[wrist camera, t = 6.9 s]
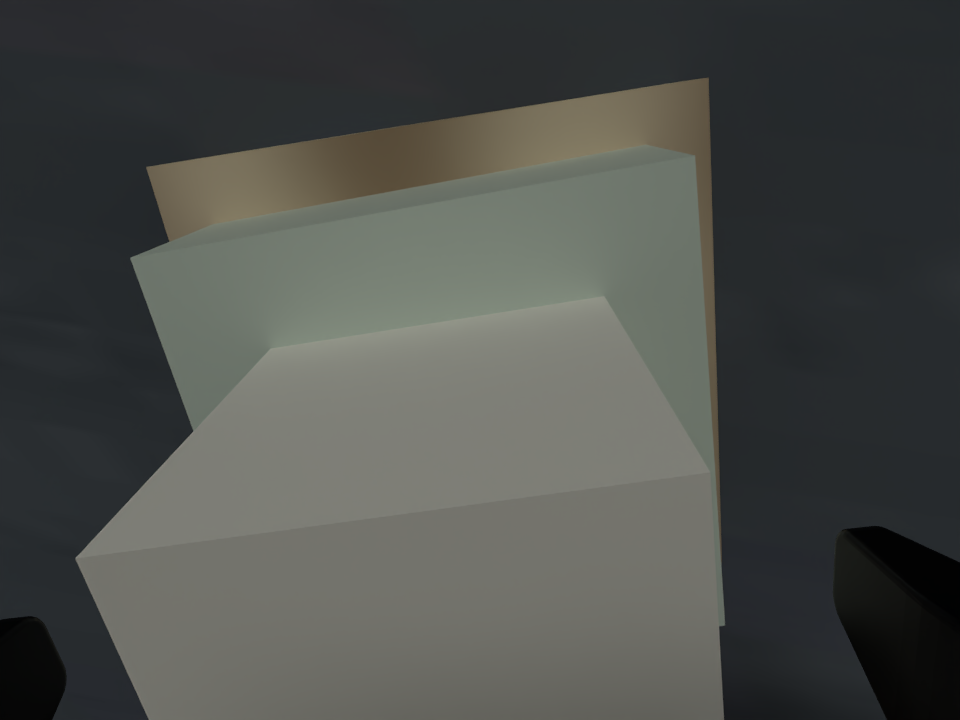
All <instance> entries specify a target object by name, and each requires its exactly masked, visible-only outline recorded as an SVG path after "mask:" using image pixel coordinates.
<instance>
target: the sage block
mask: <svg viewBox="0 0 960 720" xmlns="http://www.w3.org/2000/svg"><path fill="white" fill-rule="evenodd" d="M130 259H131V261H132V264H133V267H134V270H135V272H136V275H137V278H138V281H139V283H140V286H141V289H142V291H143V294H144V297H145V300H146V302H147V305H148V308H149V311H150V313H151V316H152V319H153V322H154V324H155V327H156V330H157V332H158V335H159V338H160V341H161V343H162V346H163V349H164V352H165V354H166V357H167V360H168V363H169V365H170V368H171V371H172V373H173V376H174V379H175V382H176V384H177V387H178V390H179V393H180V395H181V398H182V401H183V404H184V406H185V409H186V412H187V414H188V417H189V420H190V423H191V425H192V428H193V431H194V430H195V429H196V428H197V427H198V426H199V425H200V424H201V423H202V422H203V421H204V420H205V419H206V417H207V416H208V415H209V414H210V413H211V412H212V411H213V410H214V409H215V408H216V407H217V406H218V405H219V404H220V402H221V401H222V400H223V399H224V398H225V397H226V396H227V395H228V394H229V393H230V392H231V391H232V390H233V388H234V387H235V386H236V385H237V384H238V383H239V382H240V381H241V380H242V379H243V378H244V377H245V376H246V375H247V373H248V372H249V371H250V370H251V369H252V368H253V367H254V366H255V365H256V364H257V363H258V362H259V361H260V359H261V358H262V357H263V356H264V355H265V354H266V353H267V352H268V351H269V350H270V349H272V348H278V347H284V346H291V345H297V344H304V343H310V342H316V341H323V340H329V339H335V338H342V337H348V336H354V335H361V334H367V333H373V332H380V331H386V330H392V329H399V328H405V327H411V326H418V325H424V324H431V323H437V322H443V321H450V320H456V319H462V318H469V317H475V316H481V315H488V314H494V313H500V312H507V311H513V310H519V309H526V308H532V307H538V306H545V305H551V304H558V303H564V302H570V301H577V300H583V299H589V298H596V297H602V296H605V298H606V300H607V301H608V303H609V305H610V306H611V308H612V310H613V311H614V313H615V315H616V316H617V318H618V320H619V321H620V323H621V325H622V326H623V328H624V330H625V331H626V333H627V335H628V336H629V338H630V340H631V341H632V343H633V345H634V346H635V348H636V350H637V351H638V353H639V354H640V356H641V358H642V359H643V361H644V363H645V364H646V366H647V368H648V369H649V371H650V373H651V374H652V376H653V378H654V379H655V381H656V383H657V384H658V386H659V388H660V389H661V391H662V393H663V394H664V396H665V398H666V399H667V401H668V403H669V404H670V406H671V408H672V409H673V411H674V413H675V414H676V416H677V418H678V419H679V421H680V423H681V424H682V426H683V428H684V429H685V431H686V433H687V434H688V436H689V438H690V439H691V441H692V443H693V444H694V446H695V448H696V449H697V451H698V453H699V454H700V456H701V458H702V459H703V461H704V463H705V464H706V466H707V468H708V469H709V471H710V474H711V492H712V510H713V528H714V547H715V565H716V583H717V601H718V620H719V626H724V625H725V617H724V601H723V586H722V570H721V554H720V539H719V523H718V507H717V492H716V476H715V460H714V445H713V429H712V413H711V398H710V382H709V366H708V351H707V335H706V319H705V303H704V288H703V272H702V256H701V241H700V225H699V209H698V194H697V178H696V162H695V155H691V154H686V153H682V152H677V151H673V150H668V149H664V148H659V147H655V146H650V145H641V146H636V147H630V148H625V149H619V150H614V151H609V152H603V153H598V154H592V155H587V156H581V157H576V158H570V159H565V160H560V161H554V162H549V163H543V164H538V165H532V166H527V167H521V168H516V169H511V170H505V171H500V172H494V173H489V174H483V175H478V176H472V177H467V178H462V179H456V180H451V181H445V182H440V183H434V184H429V185H424V186H418V187H413V188H407V189H402V190H396V191H391V192H385V193H380V194H375V195H369V196H364V197H358V198H353V199H347V200H342V201H336V202H331V203H326V204H320V205H315V206H309V207H304V208H298V209H293V210H288V211H282V212H277V213H271V214H266V215H260V216H255V217H249V218H244V219H239V220H233V221H228V222H222V223H217V224H212V225H210V226H207V227H205V228H202V229H200V230H197V231H195V232H193V233H190V234H188V235H185V236H183V237H180V238H178V239H175V240H173V241H171V242H168V243H166V244H163V245H161V246H158V247H156V248H154V249H151V250H149V251H146V252H144V253H141V254H139V255H137V256H134V257H132V258H130Z"/></svg>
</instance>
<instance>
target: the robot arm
mask: <svg viewBox="0 0 960 720" xmlns="http://www.w3.org/2000/svg"><path fill="white" fill-rule="evenodd" d="M833 598H834V603H835V607H836V611H837V614H838V616H839V618H840V620H841V623H842V625H843V627H844V629H845V631H846V633H847V635H848V638H849V640H850V642H851V644H852V646H853V648H854V650H855V652H856V655H857V657H858V659H859V661H860V663H861V665H862V667H863V670H864V672H865V674H866V676H867V678H868V680H869V682H870V685H871V687H872V689H873V691H874V693H875V695H876V697H877V700H878V702H879V704H880V706H881V708H882V710H883V712H884V714H885V717H886V719H887V720H960V562H958V561H956V560H953V559H951V558H949V557H947V556H945V555H943V554H940V553H938V552H936V551H934V550H932V549H930V548H927V547H925V546H923V545H921V544H919V543H917V542H914V541H912V540H910V539H908V538H906V537H904V536H901V535H899V534H897V533H895V532H893V531H891V530H888V529H886V528H883V527H880V526H870V527H860V528H851V529H844V530H842V531H841V532H840V533H839V534H838V535H837V538H836V542H835V559H834V580H833ZM65 686H66V670H65V667H64V664H63V662H62V660H61V658H60V656H59V654H58V652H57V649H56V647H55V645H54V643H53V641H52V639H51V637H50V634H49V632H48V630H47V628H46V626H45V624H44V623H43V622H42V621H41V620H39V619H38V618H36V617H32V616H27V617H18V618H8V619H2V620H0V720H52V719H53V717H54V714H55V712H56V710H57V707H58V705H59V703H60V701H61V698H62V696H63V693H64V691H65Z"/></svg>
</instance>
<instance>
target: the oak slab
mask: <svg viewBox="0 0 960 720" xmlns="http://www.w3.org/2000/svg"><path fill="white" fill-rule="evenodd" d="M641 145H650V146H655V147H659V148H664V149H668V150H673V151H677V152H682V153H686V154H691V155H695V162H696V178H697V194H698V209H699V225H700V241H701V256H702V272H703V288H704V303H705V319H706V335H707V351H708V366H709V382H710V398H711V413H712V429H713V445H714V460H715V476H716V492H717V507H718V523H719V539H720V554H721V562H722V552H721V516H720V480H719V443H718V407H717V371H716V334H715V298H714V261H713V225H712V189H711V152H710V116H709V80H708V78H703V79H696V80H689V81H682V82H676V83H669V84H663V85H657V86H650V87H644V88H638V89H632V90H625V91H619V92H613V93H607V94H600V95H594V96H588V97H581V98H575V99H569V100H563V101H556V102H550V103H544V104H538V105H531V106H525V107H519V108H512V109H506V110H500V111H494V112H487V113H481V114H475V115H469V116H462V117H456V118H450V119H443V120H437V121H431V122H425V123H418V124H412V125H406V126H400V127H393V128H387V129H381V130H374V131H368V132H362V133H356V134H349V135H343V136H337V137H331V138H324V139H318V140H312V141H305V142H299V143H293V144H287V145H280V146H274V147H268V148H262V149H255V150H249V151H243V152H236V153H230V154H224V155H218V156H211V157H205V158H199V159H193V160H187V161H181V162H175V163H169V164H163V165H157V166H151V167H146V168H147V171H148V174H149V178H150V181H151V184H152V187H153V190H154V194H155V197H156V200H157V203H158V206H159V210H160V213H161V216H162V219H163V222H164V226H165V229H166V232H167V235H168V238H169V242H171V241H173V240H175V239H178V238H180V237H183V236H185V235H188V234H190V233H193V232H195V231H197V230H200V229H202V228H205V227H207V226H210V225H212V224H217V223H222V222H228V221H233V220H239V219H244V218H249V217H255V216H260V215H266V214H271V213H277V212H282V211H288V210H293V209H298V208H304V207H309V206H315V205H320V204H326V203H331V202H336V201H342V200H347V199H353V198H358V197H364V196H369V195H375V194H380V193H385V192H391V191H396V190H402V189H407V188H413V187H418V186H424V185H429V184H434V183H440V182H445V181H451V180H456V179H462V178H467V177H472V176H478V175H483V174H489V173H494V172H500V171H505V170H511V169H516V168H521V167H527V166H532V165H538V164H543V163H549V162H554V161H560V160H565V159H570V158H576V157H581V156H587V155H592V154H598V153H603V152H609V151H614V150H619V149H625V148H630V147H636V146H641Z"/></svg>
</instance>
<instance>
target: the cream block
mask: <svg viewBox="0 0 960 720" xmlns="http://www.w3.org/2000/svg"><path fill="white" fill-rule="evenodd" d="M75 559H76V561H77V563H78V565H79V568H80V570H81V572H82V574H83V576H84V579H85V581H86V583H87V585H88V587H89V590H90V592H91V594H92V596H93V598H94V600H95V603H96V605H97V607H98V609H99V611H100V614H101V616H102V618H103V620H104V622H105V625H106V627H107V629H108V631H109V633H110V636H111V638H112V640H113V642H114V644H115V646H116V649H117V651H118V653H119V655H120V657H121V660H122V662H123V664H124V666H125V668H126V671H127V673H128V675H129V677H130V679H131V682H132V684H133V686H134V688H135V690H136V693H137V695H138V697H139V699H140V701H141V703H142V706H143V708H144V710H145V712H146V714H147V717H148V719H149V720H724V711H723V692H722V674H721V656H720V638H719V620H718V601H717V583H716V565H715V547H714V528H713V510H712V492H711V474H710V471H709V469H708V468H707V466H706V464H705V463H704V461H703V459H702V458H701V456H700V454H699V453H698V451H697V449H696V448H695V446H694V444H693V443H692V441H691V439H690V438H689V436H688V434H687V433H686V431H685V429H684V428H683V426H682V424H681V423H680V421H679V419H678V418H677V416H676V414H675V413H674V411H673V409H672V408H671V406H670V404H669V403H668V401H667V399H666V398H665V396H664V394H663V393H662V391H661V389H660V388H659V386H658V384H657V383H656V381H655V379H654V378H653V376H652V374H651V373H650V371H649V369H648V368H647V366H646V364H645V363H644V361H643V359H642V358H641V356H640V354H639V353H638V351H637V350H636V348H635V346H634V345H633V343H632V341H631V340H630V338H629V336H628V335H627V333H626V331H625V330H624V328H623V326H622V325H621V323H620V321H619V320H618V318H617V316H616V315H615V313H614V311H613V310H612V308H611V306H610V305H609V303H608V301H607V300H606V298H605V296H602V297H596V298H589V299H583V300H577V301H570V302H564V303H558V304H551V305H545V306H538V307H532V308H526V309H519V310H513V311H507V312H500V313H494V314H488V315H481V316H475V317H469V318H462V319H456V320H450V321H443V322H437V323H431V324H424V325H418V326H411V327H405V328H399V329H392V330H386V331H380V332H373V333H367V334H361V335H354V336H348V337H342V338H335V339H329V340H323V341H316V342H310V343H304V344H297V345H291V346H284V347H278V348H272V349H270V350H269V351H268V352H267V353H266V354H265V355H264V356H263V357H262V358H261V359H260V361H259V362H258V363H257V364H256V365H255V366H254V367H253V368H252V369H251V370H250V371H249V372H248V373H247V375H246V376H245V377H244V378H243V379H242V380H241V381H240V382H239V383H238V384H237V385H236V386H235V387H234V388H233V390H232V391H231V392H230V393H229V394H228V395H227V396H226V397H225V398H224V399H223V400H222V401H221V402H220V404H219V405H218V406H217V407H216V408H215V409H214V410H213V411H212V412H211V413H210V414H209V415H208V416H207V417H206V419H205V420H204V421H203V422H202V423H201V424H200V425H199V426H198V427H197V428H196V429H195V430H194V431H193V433H192V434H191V435H190V436H189V437H188V438H187V439H186V440H185V441H184V442H183V443H182V444H181V445H180V447H179V448H178V449H177V450H176V451H175V452H174V453H173V454H172V455H171V456H170V457H169V458H168V459H167V460H166V462H165V463H164V464H163V465H162V466H161V467H160V468H159V469H158V470H157V471H156V472H155V473H154V474H153V476H152V477H151V478H150V479H149V480H148V481H147V482H146V483H145V484H144V485H143V486H142V487H141V488H140V489H139V491H138V492H137V493H136V494H135V495H134V496H133V497H132V498H131V499H130V500H129V501H128V502H127V503H126V505H125V506H124V507H123V508H122V509H121V510H120V511H119V512H118V513H117V514H116V515H115V516H114V517H113V519H112V520H111V521H110V522H109V523H108V524H107V525H106V526H105V527H104V528H103V529H102V530H101V531H100V532H99V534H98V535H97V536H96V537H95V538H94V539H93V540H92V541H91V542H90V543H89V544H88V545H87V546H86V548H85V549H84V550H83V551H82V552H81V553H80V554H79V555H78V556H77V557H76V558H75Z"/></svg>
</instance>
